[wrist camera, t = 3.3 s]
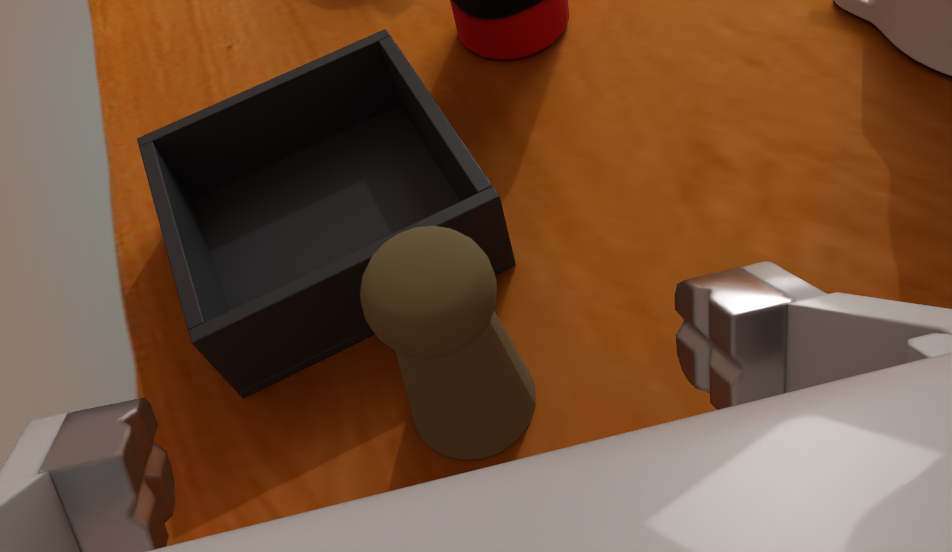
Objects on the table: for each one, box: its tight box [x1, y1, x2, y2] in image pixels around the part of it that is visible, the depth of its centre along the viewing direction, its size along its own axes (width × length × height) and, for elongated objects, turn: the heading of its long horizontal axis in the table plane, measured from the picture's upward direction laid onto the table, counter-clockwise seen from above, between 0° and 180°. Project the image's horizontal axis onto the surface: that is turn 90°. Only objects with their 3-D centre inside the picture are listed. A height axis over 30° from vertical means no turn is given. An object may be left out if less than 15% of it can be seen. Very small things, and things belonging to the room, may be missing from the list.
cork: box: [360, 226, 535, 460], centre depth 33 cm, size 6×6×11 cm
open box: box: [137, 29, 516, 398], centre depth 43 cm, size 16×16×6 cm
